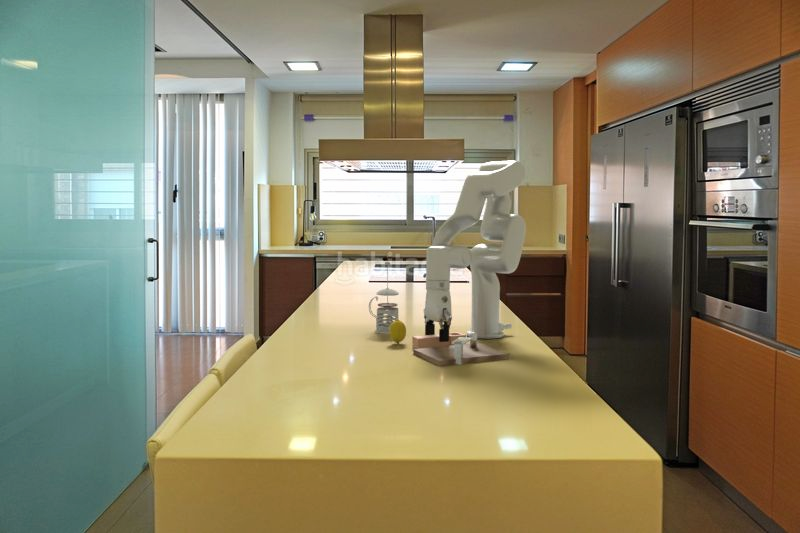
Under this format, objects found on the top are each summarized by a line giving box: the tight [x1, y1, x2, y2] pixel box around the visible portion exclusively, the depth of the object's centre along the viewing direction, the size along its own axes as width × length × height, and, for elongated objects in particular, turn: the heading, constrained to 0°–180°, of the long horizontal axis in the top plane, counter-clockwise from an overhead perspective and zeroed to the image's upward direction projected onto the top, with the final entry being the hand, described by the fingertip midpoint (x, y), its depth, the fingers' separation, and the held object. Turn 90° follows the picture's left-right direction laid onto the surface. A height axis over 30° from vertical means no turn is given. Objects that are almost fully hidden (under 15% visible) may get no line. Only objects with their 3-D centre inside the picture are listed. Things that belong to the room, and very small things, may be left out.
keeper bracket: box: [452, 336, 471, 366], centre depth 197 cm, size 8×4×6 cm, turn 159°
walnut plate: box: [412, 342, 510, 367], centre depth 204 cm, size 23×17×2 cm
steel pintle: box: [469, 332, 478, 348], centre depth 210 cm, size 2×2×4 cm
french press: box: [368, 261, 400, 335], centre depth 243 cm, size 10×12×25 cm
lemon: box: [388, 318, 407, 345], centre depth 222 cm, size 6×6×8 cm
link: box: [411, 331, 467, 349], centre depth 218 cm, size 17×5×4 cm, turn 114°
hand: (436, 338), depth 218 cm, fingers open, 9 cm apart
